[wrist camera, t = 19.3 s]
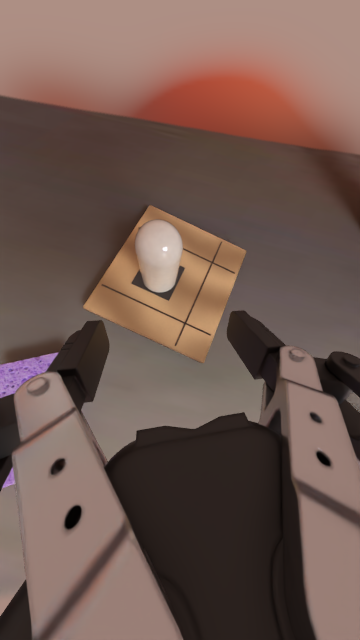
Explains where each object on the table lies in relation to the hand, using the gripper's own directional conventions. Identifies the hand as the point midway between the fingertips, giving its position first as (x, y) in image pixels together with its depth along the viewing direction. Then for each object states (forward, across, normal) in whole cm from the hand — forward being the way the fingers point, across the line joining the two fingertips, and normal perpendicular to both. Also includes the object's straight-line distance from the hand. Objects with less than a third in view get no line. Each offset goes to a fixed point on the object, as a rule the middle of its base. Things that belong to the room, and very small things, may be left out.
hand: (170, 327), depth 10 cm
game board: (+16, -2, +2) cm, 17 cm away
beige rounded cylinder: (+15, 0, +1) cm, 15 cm away
